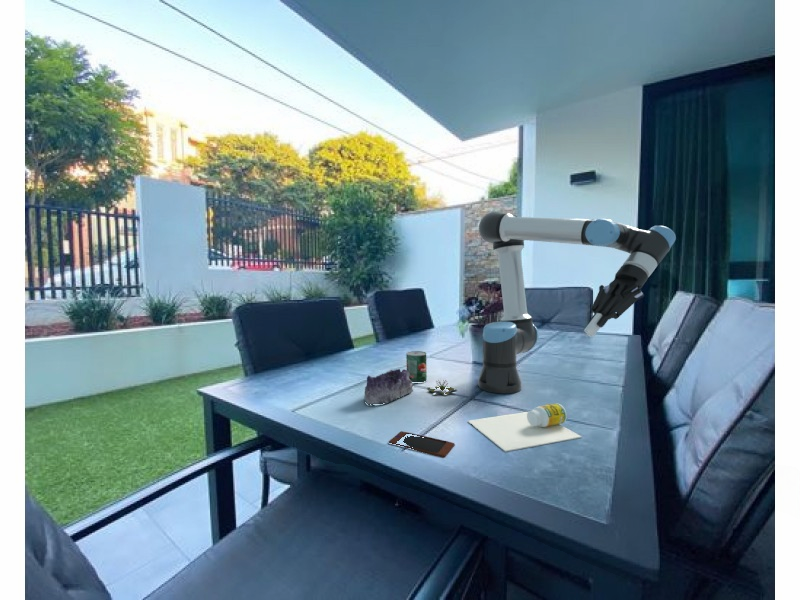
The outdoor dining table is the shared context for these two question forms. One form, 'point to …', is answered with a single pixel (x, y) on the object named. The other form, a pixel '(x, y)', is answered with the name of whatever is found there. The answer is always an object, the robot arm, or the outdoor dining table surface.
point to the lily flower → (442, 387)
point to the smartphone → (425, 444)
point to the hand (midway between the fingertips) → (588, 333)
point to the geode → (387, 387)
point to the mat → (520, 432)
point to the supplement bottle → (547, 415)
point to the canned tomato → (416, 366)
